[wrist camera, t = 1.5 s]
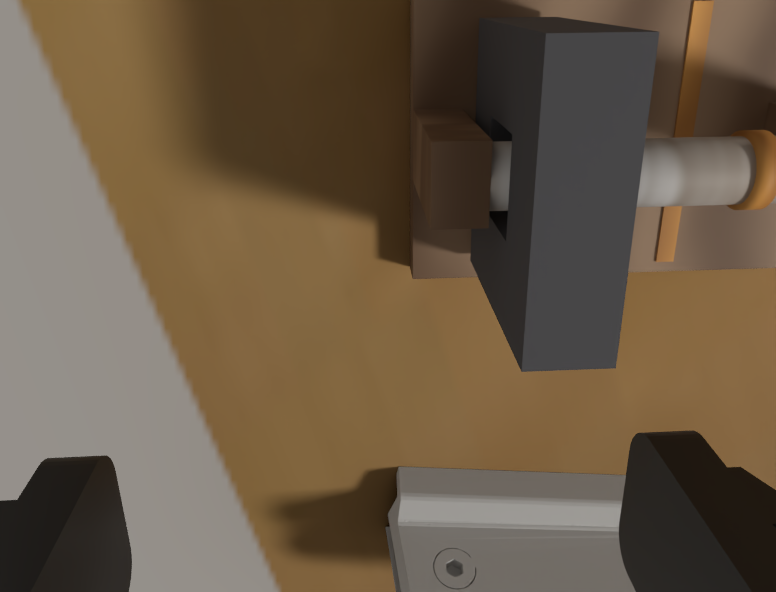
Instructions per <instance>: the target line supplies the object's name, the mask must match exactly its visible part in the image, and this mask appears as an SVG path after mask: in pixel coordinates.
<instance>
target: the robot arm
mask: <svg viewBox="0 0 776 592" xmlns="http://www.w3.org/2000/svg"><path fill="white" fill-rule="evenodd" d="M619 543H620V550H621V555H622V560H623V563H624V567H625V569H626V572H627V574H628V577H629V579H630V581H631V583H632V585H633V587H634V589H635V591H636V592H776V490H775V489H773V488H772V487H770V486H769V485H767V484H766V483H764V482H763V481H761V480H759V479H758V478H756V477H755V476H753V475H752V474H750V473H749V472H747V471H746V470H744V469H743V468H741V467H731V468H727V467H726V465H725V464H724V463H723V462H722V460H721V459H720V458H719V457H718V455H717V454H716V453H715V452H714V450H713V449H712V448H711V447H710V445H709V444H708V443H707V442H706V440H705V439H704V438H703V437H702V436H701V435H700V434H699V433H698V432H696V431H672V432H650V433H637V434H636V435H635V436H634V437H633V439H632V442H631V445H630V451H629V458H628V465H627V472H626V479H625V486H624V493H623V500H622V507H621V514H620V521H619ZM131 569H132V558H131V547H130V542H129V537H128V532H127V527H126V522H125V517H124V512H123V507H122V502H121V497H120V492H119V486H118V481H117V476H116V471H115V468H114V465H113V462H112V460H111V459H110V458H109V457H108V456H87V457H65V458H47V459H45V460H44V461H43V462H41V464H40V465H39V466H38V468H37V470H36V471H35V473H34V474H33V476H32V477H31V479H30V481H29V482H28V484H27V485H26V487H25V489H24V490H23V492H22V493H21V495H20V496H19V498H18V500H7V501H0V592H129V587H130V580H131Z"/></svg>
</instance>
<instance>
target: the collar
mask: <svg viewBox="0 0 776 592" xmlns="http://www.w3.org/2000/svg"><path fill="white" fill-rule="evenodd" d="M658 39H659V32H658V31H651V30H644V29H637V28H630V27H624V26H617V25H610V24H603V23H596V22H589V21H582V20H575V19H568V18H561V17H502V18H479V40H478V67H477V94H476V121H475V123H476V124H477V125H478V126H479V127H480V128H481V129H482V130H483V131H484V132H485V133H486V134H487V135H488V136H489V137H490V138H491V139H492V140H493V142H498V141H512V149H511V166H510V184H509V201H508V211H489V228H482V229H471V256H470V261H471V263H472V265H473V267H474V269H475V272H476V274H477V276H478V278H479V280H480V282H481V285H482V287H483V289H484V291H485V293H486V295H487V298H488V300H489V302H490V304H491V306H492V308H493V311H494V313H495V315H496V317H497V319H498V321H499V324H500V326H501V328H502V330H503V332H504V334H505V337H506V339H507V341H508V343H509V345H510V347H511V350H512V352H513V354H514V356H515V358H516V360H517V363H518V365H519V367H520V369H521V371H522V372H526V371H553V370H579V369H606V368H616V361H617V353H618V346H619V338H620V330H621V323H622V315H623V308H624V300H625V292H626V285H627V277H628V269H629V262H630V254H631V246H632V239H633V231H634V223H635V216H636V208H637V200H638V193H639V185H640V177H641V170H642V162H643V154H644V147H645V139H646V131H647V124H648V116H649V108H650V101H651V93H652V85H653V78H654V70H655V62H656V55H657V47H658Z"/></svg>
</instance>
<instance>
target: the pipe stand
mask: <svg viewBox="0 0 776 592" xmlns="http://www.w3.org/2000/svg"><path fill="white" fill-rule="evenodd" d="M502 17H561V18H568V19H575V20H582V21H589V22H596V23H603V24H610V25H617V26H624V27H630V28H637V29H644V30H651V31H658V32H659V39H658V47H657V55H656V62H655V70H654V78H653V85H652V93H651V101H650V108H649V116H648V124H647V131H646V139H645V147H644V154H643V162H642V170H641V177H640V185H639V193H638V200H637V208H636V216H635V223H634V231H633V239H632V246H631V254H630V262H629V269H628V272H654V271H686V270H719V269H751V268H776V0H410V269H411V273H412V278H413V279H428V278H460V277H478V276H477V274H476V272H475V269H474V267H473V265H472V263H471V261H470V256H471V229H482V228H489V211H508V201H509V184H510V166H511V149H512V141H498V142H493V140H492V139H491V138H490V137H489V136H488V135H487V134H486V133H485V132H484V131H483V130H482V129H481V128H480V127H479V126H478V125H477V124H476V123H475V121H476V94H477V67H478V40H479V18H502Z"/></svg>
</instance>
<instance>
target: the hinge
mask: <svg viewBox="0 0 776 592" xmlns="http://www.w3.org/2000/svg"><path fill="white" fill-rule="evenodd" d="M625 479H626V475H606V474H580V473H553V472H527V471H501V470H474V469H448V468H422V467H399V468H398V471H397V498H396V500H395V502H394V504H393V505H392V507H391V509H390V511H389V513H388V519H389V524H390V527H385V528H386V534H387V540H388V546H389V552H390V558H391V564H392V570H393V576H394V582H395V588H396V592H636V591H635V589H634V587H633V585H632V583H631V581H630V579H629V577H628V574H627V572H626V569H625V567H624V563H623V560H622V555H621V550H620V543H619V521H620V514H621V507H622V500H623V493H624V486H625Z"/></svg>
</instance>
